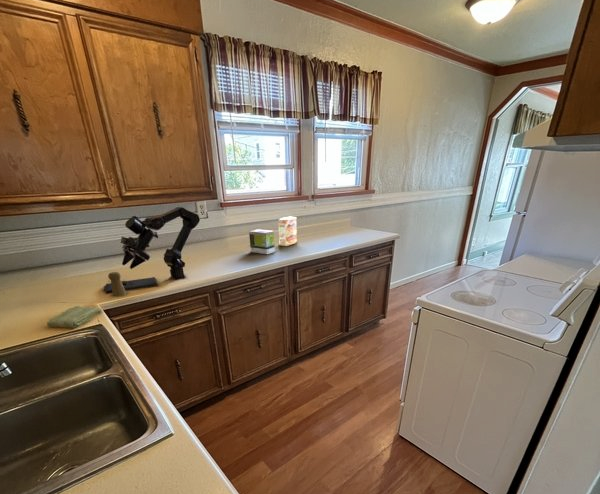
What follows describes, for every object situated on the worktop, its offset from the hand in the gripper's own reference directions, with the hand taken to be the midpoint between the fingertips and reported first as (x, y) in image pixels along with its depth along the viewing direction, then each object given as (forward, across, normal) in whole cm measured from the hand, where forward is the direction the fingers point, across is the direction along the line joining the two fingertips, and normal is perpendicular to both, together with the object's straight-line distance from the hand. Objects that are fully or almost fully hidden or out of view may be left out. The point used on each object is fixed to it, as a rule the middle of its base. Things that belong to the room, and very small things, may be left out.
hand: (126, 266), depth 159 cm
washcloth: (+30, +17, -12) cm, 37 cm away
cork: (+14, 0, +4) cm, 14 cm away
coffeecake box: (-81, -16, +99) cm, 129 cm away
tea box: (-60, -11, +77) cm, 98 cm away
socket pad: (+7, -7, +11) cm, 15 cm away
